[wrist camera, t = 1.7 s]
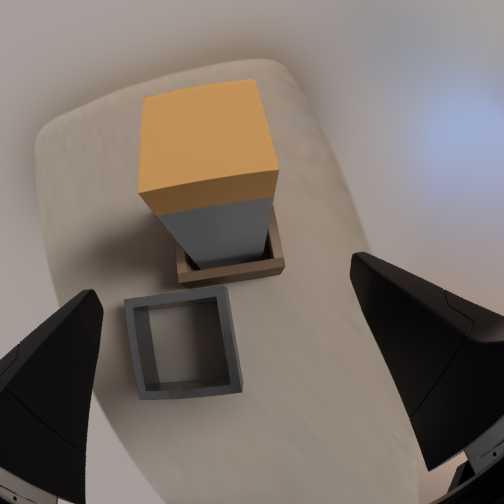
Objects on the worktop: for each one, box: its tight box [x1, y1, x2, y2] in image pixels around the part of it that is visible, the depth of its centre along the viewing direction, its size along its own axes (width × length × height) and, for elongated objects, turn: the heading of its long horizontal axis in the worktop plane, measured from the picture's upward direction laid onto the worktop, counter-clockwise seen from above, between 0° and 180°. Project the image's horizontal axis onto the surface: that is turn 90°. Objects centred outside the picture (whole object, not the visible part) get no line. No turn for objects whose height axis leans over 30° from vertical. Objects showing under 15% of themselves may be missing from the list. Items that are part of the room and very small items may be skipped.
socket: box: [124, 286, 243, 400], centre depth 18 cm, size 7×7×3 cm
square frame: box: [174, 204, 285, 289], centre depth 20 cm, size 7×7×3 cm
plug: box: [138, 79, 279, 270], centre depth 15 cm, size 4×4×13 cm
